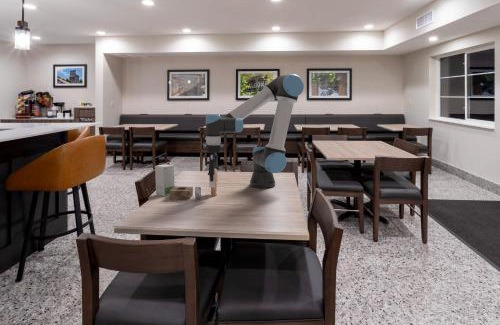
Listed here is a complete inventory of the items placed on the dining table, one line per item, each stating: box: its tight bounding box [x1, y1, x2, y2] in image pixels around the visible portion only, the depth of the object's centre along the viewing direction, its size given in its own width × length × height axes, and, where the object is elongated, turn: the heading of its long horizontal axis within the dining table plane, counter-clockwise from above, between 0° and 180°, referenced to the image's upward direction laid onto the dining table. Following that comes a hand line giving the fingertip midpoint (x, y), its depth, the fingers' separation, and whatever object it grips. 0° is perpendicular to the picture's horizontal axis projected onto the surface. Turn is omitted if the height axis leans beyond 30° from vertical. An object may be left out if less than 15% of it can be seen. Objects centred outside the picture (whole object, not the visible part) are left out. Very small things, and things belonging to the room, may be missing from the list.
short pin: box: [194, 186, 202, 201], centre depth 186 cm, size 3×3×6 cm
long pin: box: [210, 169, 218, 197], centre depth 193 cm, size 3×3×14 cm
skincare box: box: [154, 163, 176, 197], centre depth 194 cm, size 8×7×16 cm
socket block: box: [169, 185, 194, 201], centre depth 189 cm, size 10×10×4 cm
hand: (213, 184), depth 193 cm, fingers open, 13 cm apart
